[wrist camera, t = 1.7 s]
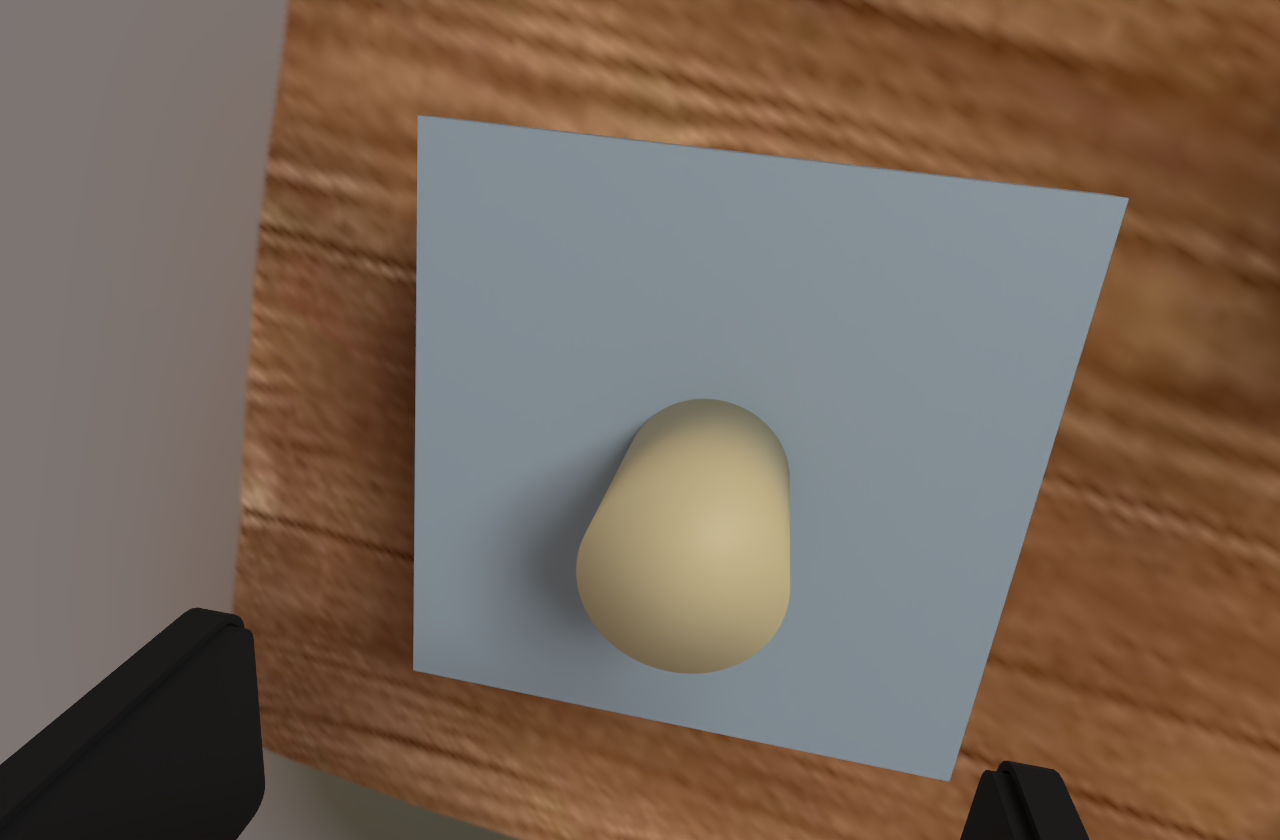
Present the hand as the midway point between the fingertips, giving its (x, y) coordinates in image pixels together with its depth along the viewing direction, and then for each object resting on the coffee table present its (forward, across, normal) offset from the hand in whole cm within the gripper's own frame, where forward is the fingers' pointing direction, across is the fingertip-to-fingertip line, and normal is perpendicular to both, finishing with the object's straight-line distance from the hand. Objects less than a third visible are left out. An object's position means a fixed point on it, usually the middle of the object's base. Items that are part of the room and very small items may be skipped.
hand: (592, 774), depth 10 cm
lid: (+11, -1, 0) cm, 11 cm away
